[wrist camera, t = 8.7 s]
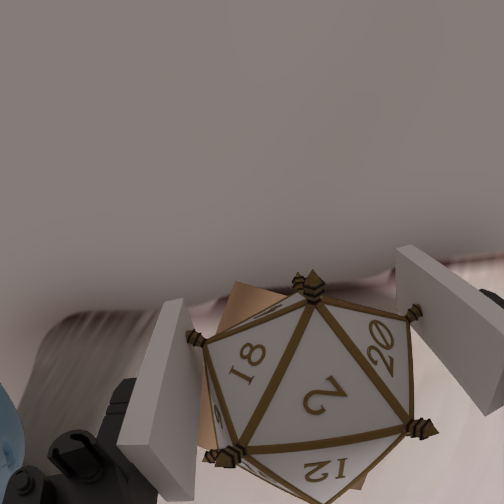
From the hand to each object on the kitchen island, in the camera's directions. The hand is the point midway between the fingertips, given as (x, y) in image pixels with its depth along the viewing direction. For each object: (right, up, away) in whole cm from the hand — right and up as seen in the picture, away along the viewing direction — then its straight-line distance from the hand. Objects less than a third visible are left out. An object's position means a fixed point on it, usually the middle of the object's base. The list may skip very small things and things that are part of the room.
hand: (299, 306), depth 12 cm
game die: (+1, -5, +2) cm, 5 cm away
